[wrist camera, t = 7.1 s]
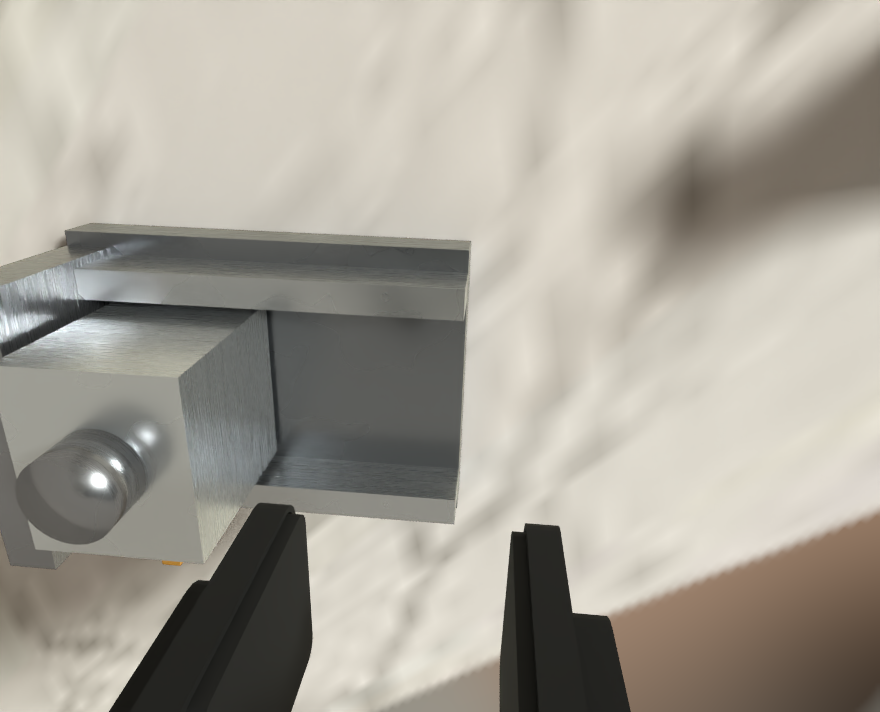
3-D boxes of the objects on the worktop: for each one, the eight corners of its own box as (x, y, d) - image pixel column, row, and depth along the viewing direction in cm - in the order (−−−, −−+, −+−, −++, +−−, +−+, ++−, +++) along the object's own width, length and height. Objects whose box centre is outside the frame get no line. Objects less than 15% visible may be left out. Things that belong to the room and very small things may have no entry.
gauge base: (471, 241, 17) (459, 298, 12) (459, 485, 20) (445, 616, 15) (91, 223, 18) (-74, 269, 13) (134, 461, 21) (14, 577, 16)
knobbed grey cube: (265, 303, 17) (146, 404, 11) (281, 503, 19) (189, 670, 14) (124, 296, 17) (-63, 390, 11) (157, 493, 20) (16, 653, 14)
